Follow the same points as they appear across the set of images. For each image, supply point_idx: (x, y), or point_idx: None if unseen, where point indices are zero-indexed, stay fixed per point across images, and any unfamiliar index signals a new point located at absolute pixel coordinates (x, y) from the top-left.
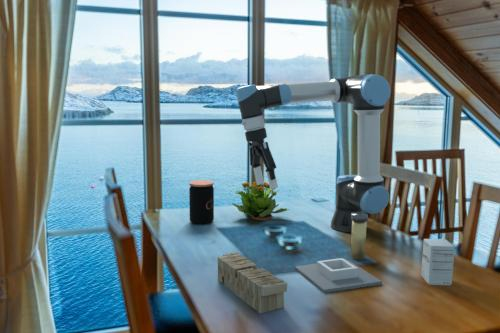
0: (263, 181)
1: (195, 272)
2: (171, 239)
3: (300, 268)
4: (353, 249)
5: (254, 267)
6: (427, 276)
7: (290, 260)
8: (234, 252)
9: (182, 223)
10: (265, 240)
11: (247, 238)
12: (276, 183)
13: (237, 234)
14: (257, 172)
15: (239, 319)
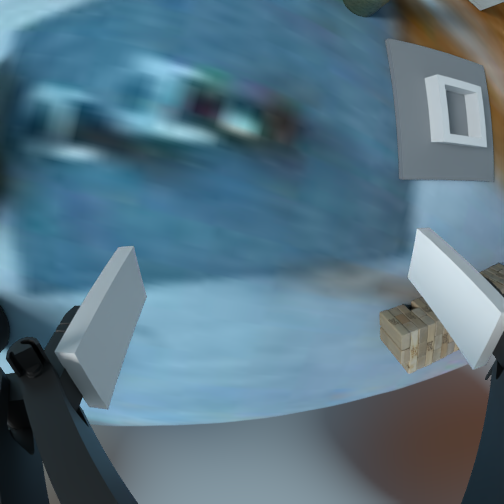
0: (129, 255)
1: (341, 383)
2: (118, 408)
3: (416, 172)
4: (378, 7)
5: None
6: (482, 4)
7: (344, 162)
8: (402, 342)
9: (5, 361)
10: (150, 177)
11: (120, 230)
12: (445, 246)
13: (80, 251)
14: (112, 350)
15: None
